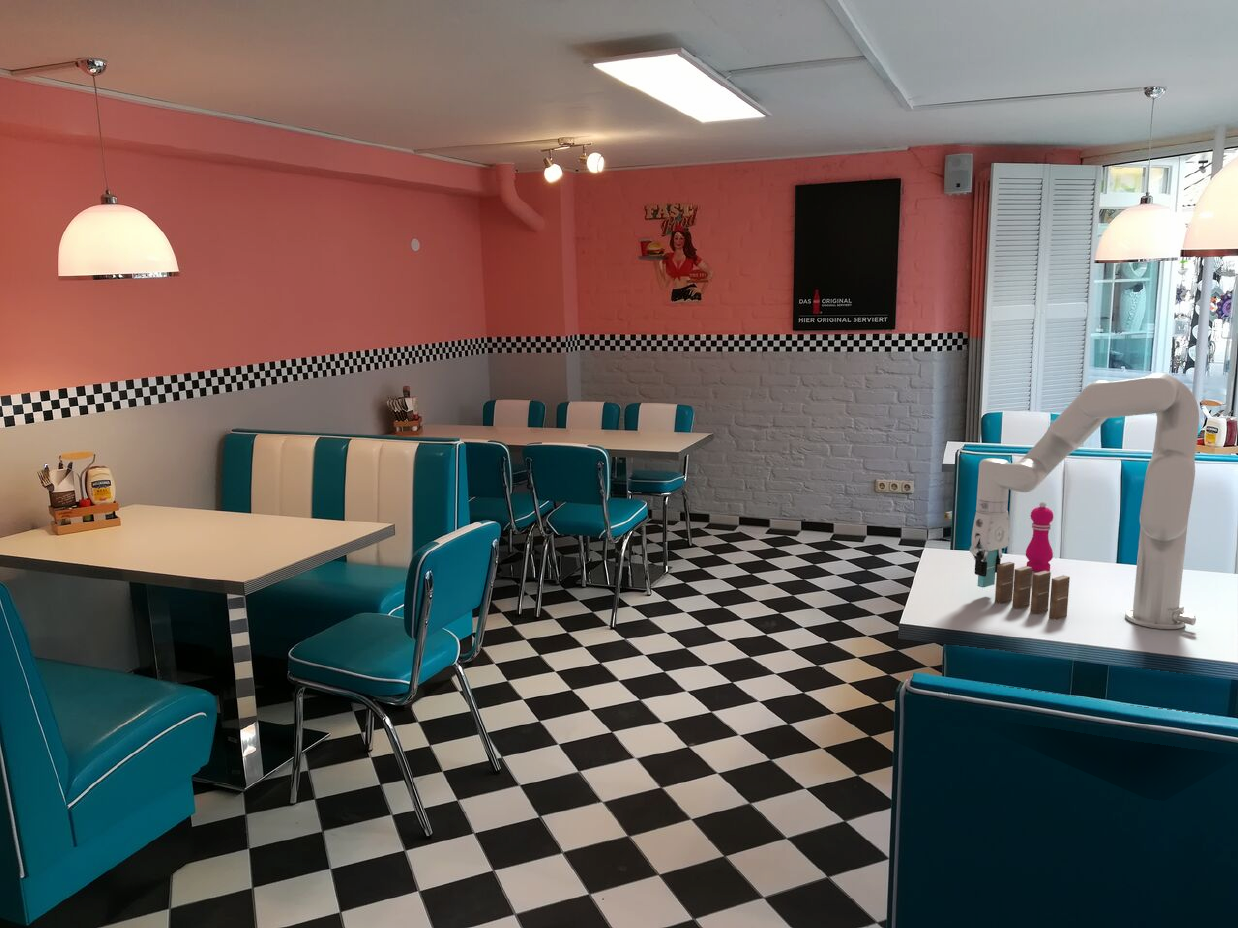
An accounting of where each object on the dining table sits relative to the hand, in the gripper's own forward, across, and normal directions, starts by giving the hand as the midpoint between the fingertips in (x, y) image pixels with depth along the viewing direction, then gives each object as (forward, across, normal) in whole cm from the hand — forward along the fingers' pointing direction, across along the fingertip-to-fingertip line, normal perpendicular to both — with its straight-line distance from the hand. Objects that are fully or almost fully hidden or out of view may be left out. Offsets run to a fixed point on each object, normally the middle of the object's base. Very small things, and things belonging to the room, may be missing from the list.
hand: (987, 572), depth 240 cm
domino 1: (+3, 0, 0) cm, 3 cm away
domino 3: (+6, 0, -10) cm, 12 cm away
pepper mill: (+6, +34, +7) cm, 35 cm away
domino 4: (+6, 0, -15) cm, 17 cm away
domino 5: (+6, 0, -20) cm, 21 cm away
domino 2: (+6, 0, -5) cm, 8 cm away
